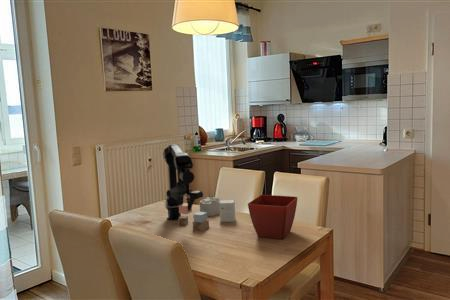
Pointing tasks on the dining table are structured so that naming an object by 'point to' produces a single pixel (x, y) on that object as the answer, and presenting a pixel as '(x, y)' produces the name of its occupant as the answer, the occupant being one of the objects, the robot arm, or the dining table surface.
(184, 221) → the walnut block
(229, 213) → the small box
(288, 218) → the plant pot
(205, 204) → the lumpy-topped squat cylinder
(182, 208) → the terracotta cube
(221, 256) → the dining table surface
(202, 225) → the walnut base block
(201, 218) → the slate middle block
